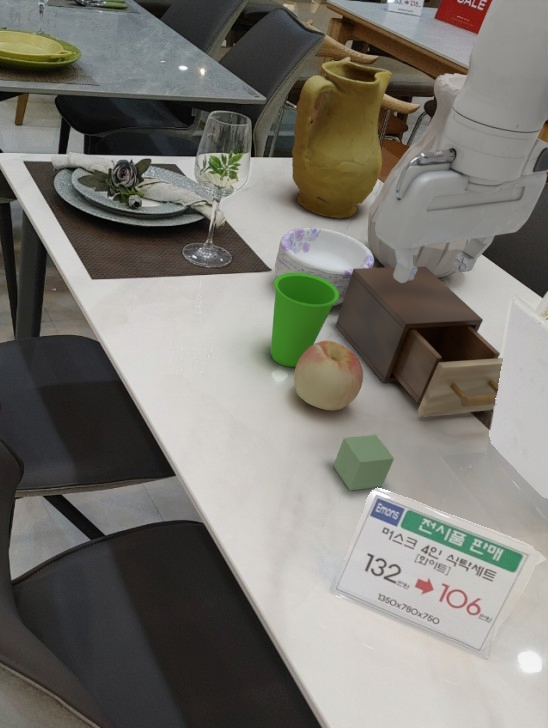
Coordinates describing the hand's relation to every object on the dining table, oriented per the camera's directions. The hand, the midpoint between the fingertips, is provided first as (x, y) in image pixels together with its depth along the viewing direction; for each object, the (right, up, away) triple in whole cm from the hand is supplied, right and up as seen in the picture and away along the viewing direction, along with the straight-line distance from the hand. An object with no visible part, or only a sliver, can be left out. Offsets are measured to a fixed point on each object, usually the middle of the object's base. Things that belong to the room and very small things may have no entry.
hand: (432, 274), depth 87 cm
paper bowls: (-5, +10, +41) cm, 42 cm away
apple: (-9, -12, +18) cm, 23 cm away
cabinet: (+5, -2, +30) cm, 30 cm away
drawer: (+8, -10, +22) cm, 25 cm away
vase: (+14, +18, +53) cm, 57 cm away
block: (-7, -22, +7) cm, 25 cm away
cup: (-12, -4, +25) cm, 28 cm away
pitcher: (+2, +36, +69) cm, 78 cm away
